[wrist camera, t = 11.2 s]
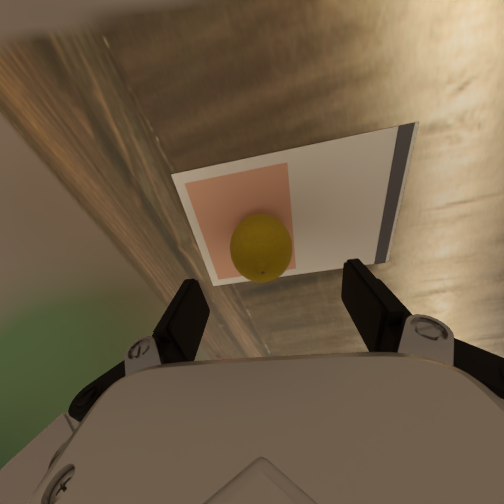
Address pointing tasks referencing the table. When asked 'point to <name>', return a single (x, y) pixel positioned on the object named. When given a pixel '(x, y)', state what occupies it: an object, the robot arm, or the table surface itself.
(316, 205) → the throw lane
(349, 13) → the table surface
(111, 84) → the table surface
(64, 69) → the table surface
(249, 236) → the lemon
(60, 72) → the table surface
